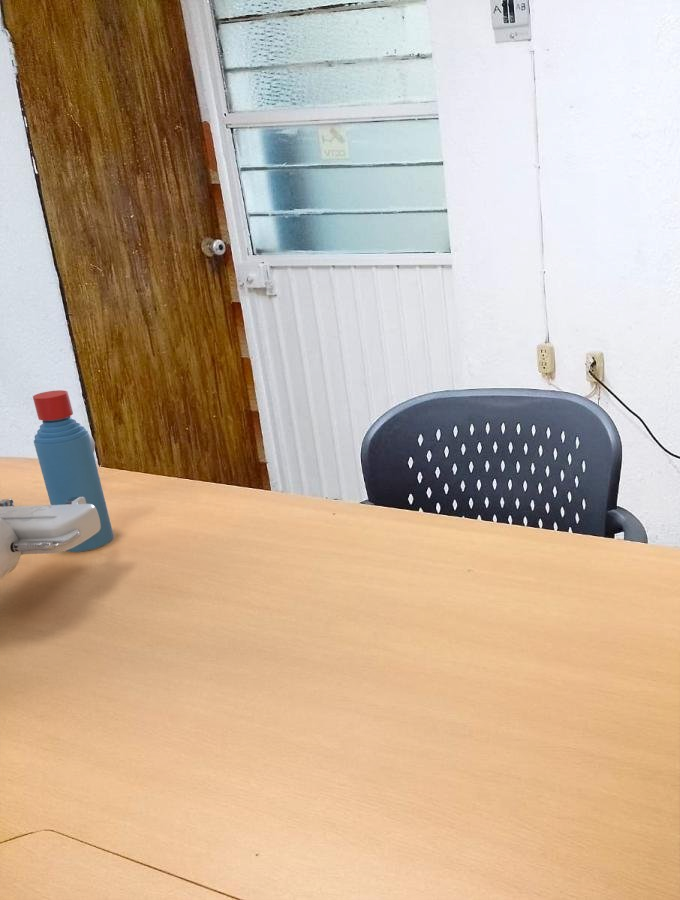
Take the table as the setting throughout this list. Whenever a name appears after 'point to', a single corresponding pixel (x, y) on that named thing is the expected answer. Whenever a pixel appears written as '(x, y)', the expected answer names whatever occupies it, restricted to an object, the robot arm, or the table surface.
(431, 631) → the table surface
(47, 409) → the cap
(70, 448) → the bottle
